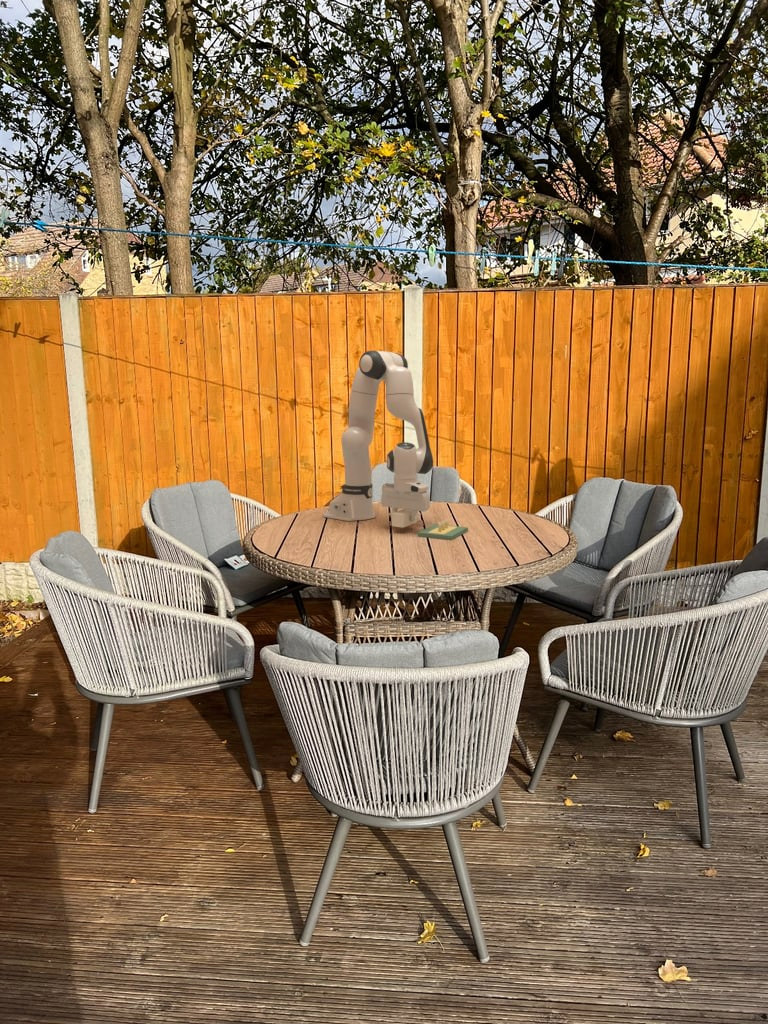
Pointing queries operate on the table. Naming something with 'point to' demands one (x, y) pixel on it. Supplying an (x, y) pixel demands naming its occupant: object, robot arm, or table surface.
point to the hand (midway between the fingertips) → (404, 519)
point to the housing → (402, 518)
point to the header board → (442, 531)
